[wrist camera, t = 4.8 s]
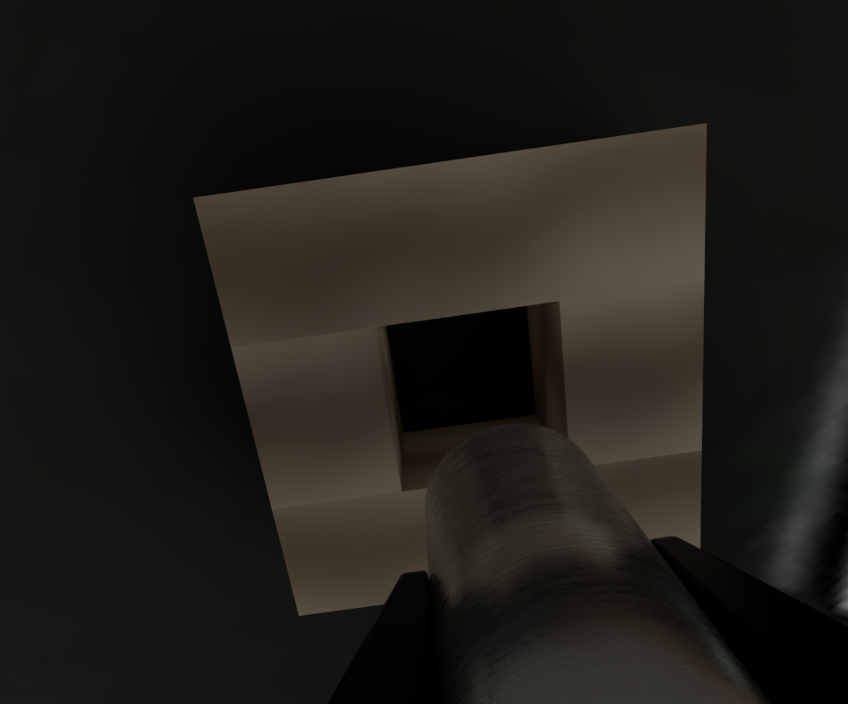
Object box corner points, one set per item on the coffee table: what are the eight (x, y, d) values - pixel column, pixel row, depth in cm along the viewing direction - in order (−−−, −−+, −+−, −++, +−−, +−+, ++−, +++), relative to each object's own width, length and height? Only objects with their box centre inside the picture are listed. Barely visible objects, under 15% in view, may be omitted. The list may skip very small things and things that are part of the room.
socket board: (640, 491, 21) (699, 561, 17) (321, 534, 21) (298, 615, 17) (632, 147, 17) (706, 123, 13) (247, 203, 18) (193, 198, 13)
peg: (603, 566, 10) (1222, 1676, 2) (436, 588, 10) (522, 1752, 2) (596, 411, 9) (1571, 1423, 1) (412, 436, 9) (430, 1549, 2)
